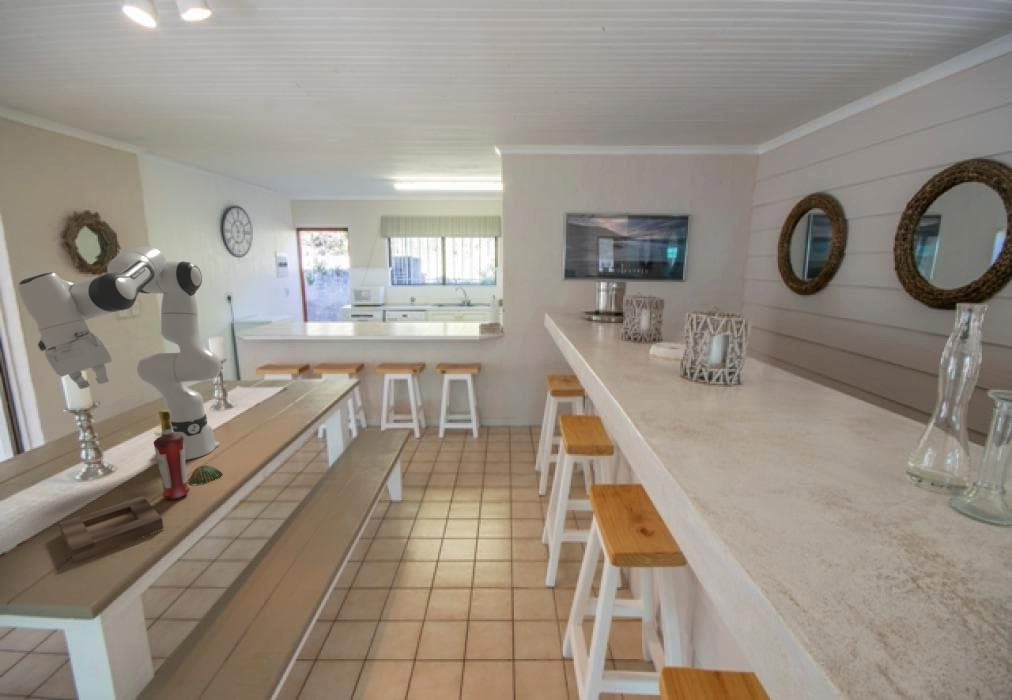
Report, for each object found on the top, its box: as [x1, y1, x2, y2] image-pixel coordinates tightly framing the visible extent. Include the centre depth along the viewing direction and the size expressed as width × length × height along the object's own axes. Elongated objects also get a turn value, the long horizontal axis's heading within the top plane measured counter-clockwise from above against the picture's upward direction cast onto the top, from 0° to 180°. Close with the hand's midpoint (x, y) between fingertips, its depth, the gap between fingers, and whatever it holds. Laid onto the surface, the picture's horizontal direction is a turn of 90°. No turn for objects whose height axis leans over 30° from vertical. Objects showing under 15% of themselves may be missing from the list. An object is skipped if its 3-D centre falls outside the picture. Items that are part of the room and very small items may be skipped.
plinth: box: [59, 495, 164, 564], centre depth 121 cm, size 18×18×4 cm
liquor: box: [153, 409, 190, 501], centre depth 137 cm, size 7×7×28 cm
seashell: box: [187, 464, 224, 485], centre depth 152 cm, size 10×4×10 cm
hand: (94, 385), depth 118 cm, fingers open, 8 cm apart
